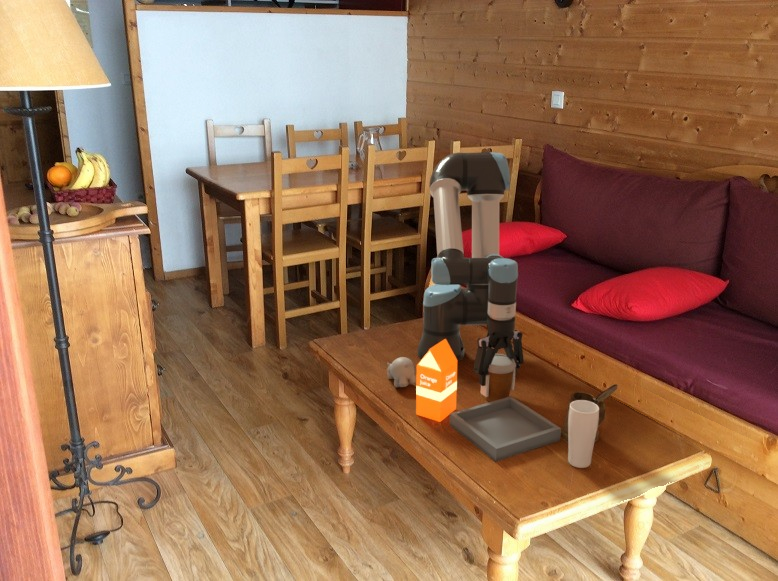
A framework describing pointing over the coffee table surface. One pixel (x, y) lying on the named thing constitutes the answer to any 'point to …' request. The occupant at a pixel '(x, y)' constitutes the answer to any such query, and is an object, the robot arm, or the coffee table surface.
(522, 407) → the tray
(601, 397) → the wooden mug
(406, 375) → the round bodied animal figurine
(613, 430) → the coffee table surface
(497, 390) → the disposable coffee cup
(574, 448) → the drinking glass
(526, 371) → the coffee table surface
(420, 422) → the coffee table surface
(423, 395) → the orange juice
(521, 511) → the coffee table surface
